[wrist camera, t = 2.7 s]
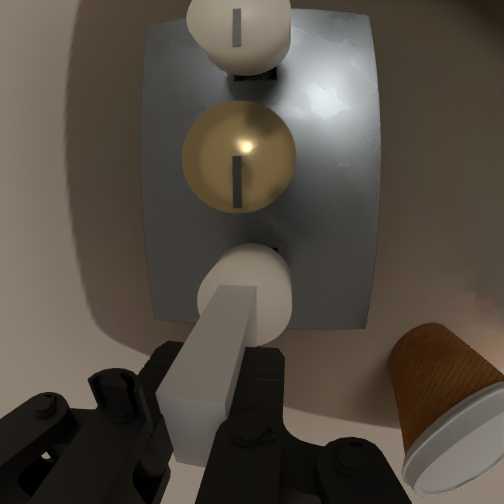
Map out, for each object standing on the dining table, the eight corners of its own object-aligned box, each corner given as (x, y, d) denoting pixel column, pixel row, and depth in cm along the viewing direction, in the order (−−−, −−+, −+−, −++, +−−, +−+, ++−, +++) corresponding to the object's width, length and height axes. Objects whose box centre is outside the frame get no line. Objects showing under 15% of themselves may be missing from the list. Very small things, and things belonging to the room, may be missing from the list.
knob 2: (224, 230, 18) (192, 260, 12) (292, 231, 17) (294, 262, 11) (226, 292, 19) (200, 344, 13) (289, 295, 18) (289, 350, 12)
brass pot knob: (219, 127, 15) (180, 104, 9) (292, 126, 15) (295, 98, 9) (219, 198, 16) (182, 214, 10) (292, 198, 16) (296, 214, 10)
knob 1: (220, 35, 14) (189, -18, 8) (289, 32, 13) (287, -28, 7) (219, 94, 15) (182, 56, 9) (291, 92, 14) (293, 48, 8)
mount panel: (164, 41, 17) (147, 26, 14) (358, 34, 15) (368, 15, 12) (170, 301, 22) (154, 319, 19) (356, 308, 20) (365, 328, 17)
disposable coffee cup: (354, 393, 22) (377, 508, 11) (394, 296, 20) (470, 406, 8) (438, 395, 22) (480, 485, 10) (481, 310, 19) (559, 389, 8)
